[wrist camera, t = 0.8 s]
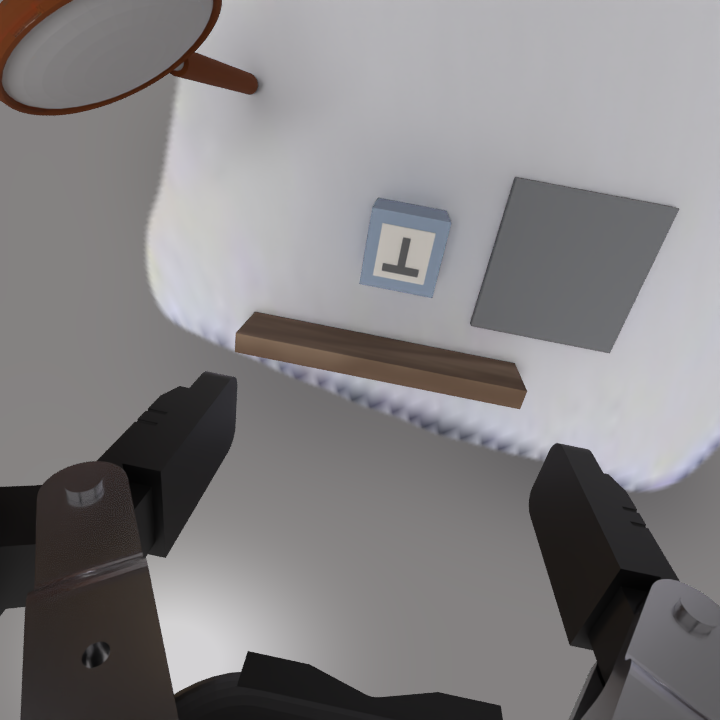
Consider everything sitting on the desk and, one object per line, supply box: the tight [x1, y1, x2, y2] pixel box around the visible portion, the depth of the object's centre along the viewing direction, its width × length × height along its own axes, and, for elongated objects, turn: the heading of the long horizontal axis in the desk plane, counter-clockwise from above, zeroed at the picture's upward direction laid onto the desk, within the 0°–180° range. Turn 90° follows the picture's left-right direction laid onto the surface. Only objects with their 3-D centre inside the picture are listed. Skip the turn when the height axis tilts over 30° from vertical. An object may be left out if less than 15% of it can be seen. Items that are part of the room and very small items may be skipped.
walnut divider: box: [235, 312, 527, 409], centre depth 35 cm, size 2×22×4 cm, turn 80°
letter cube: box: [359, 198, 451, 298], centre depth 31 cm, size 5×5×5 cm
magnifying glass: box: [0, 0, 258, 115], centre depth 21 cm, size 9×2×20 cm, turn 117°
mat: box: [470, 177, 679, 353], centre depth 33 cm, size 11×11×1 cm
